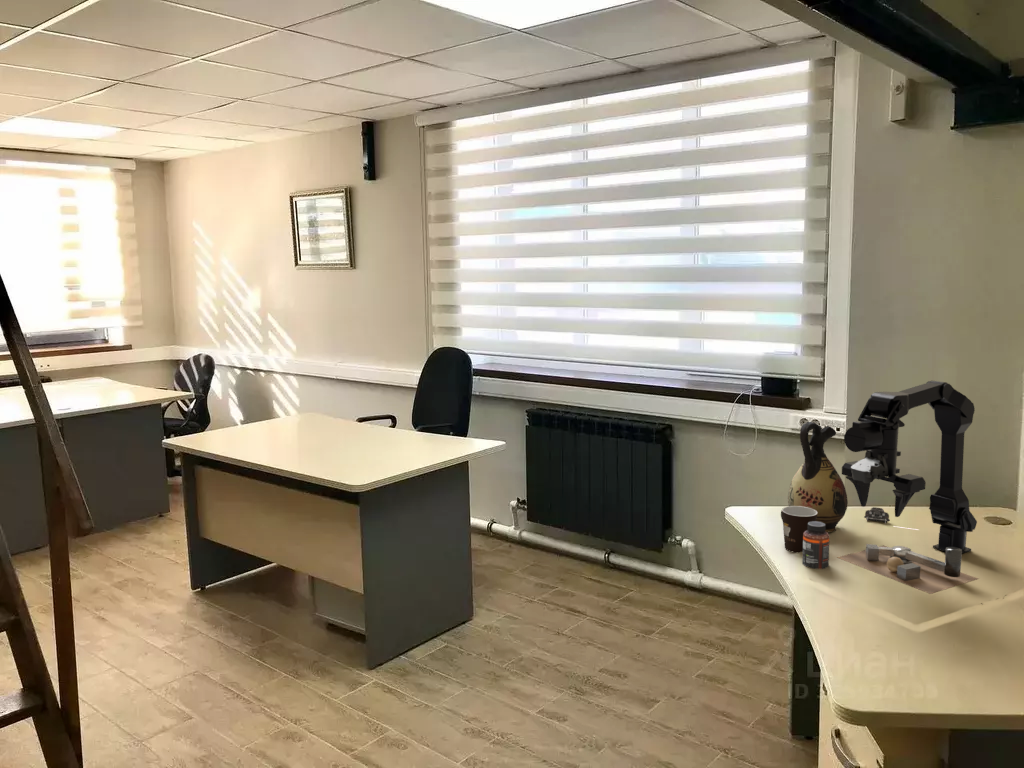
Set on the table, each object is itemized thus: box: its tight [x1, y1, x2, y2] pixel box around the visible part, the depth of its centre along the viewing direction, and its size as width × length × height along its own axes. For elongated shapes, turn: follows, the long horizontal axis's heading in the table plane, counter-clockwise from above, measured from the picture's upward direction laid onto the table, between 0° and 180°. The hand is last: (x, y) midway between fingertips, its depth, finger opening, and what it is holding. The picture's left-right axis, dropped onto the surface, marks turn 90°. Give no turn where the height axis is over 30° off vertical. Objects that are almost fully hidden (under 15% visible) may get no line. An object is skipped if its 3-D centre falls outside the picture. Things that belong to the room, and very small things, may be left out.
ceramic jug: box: [787, 421, 848, 534], centre depth 221 cm, size 17×15×30 cm
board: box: [836, 545, 979, 595], centre depth 191 cm, size 17×25×1 cm
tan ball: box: [887, 557, 904, 573], centre depth 188 cm, size 4×4×4 cm
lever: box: [865, 543, 963, 577], centre depth 189 cm, size 21×9×7 cm, turn 28°
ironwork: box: [890, 556, 921, 581], centre depth 190 cm, size 15×5×3 cm, turn 163°
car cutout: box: [863, 507, 919, 531], centre depth 226 cm, size 15×7×4 cm, turn 60°
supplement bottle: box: [801, 521, 830, 570], centre depth 193 cm, size 6×6×11 cm
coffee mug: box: [780, 505, 818, 553], centre depth 208 cm, size 12×9×10 cm
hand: (880, 511), depth 190 cm, fingers open, 9 cm apart
